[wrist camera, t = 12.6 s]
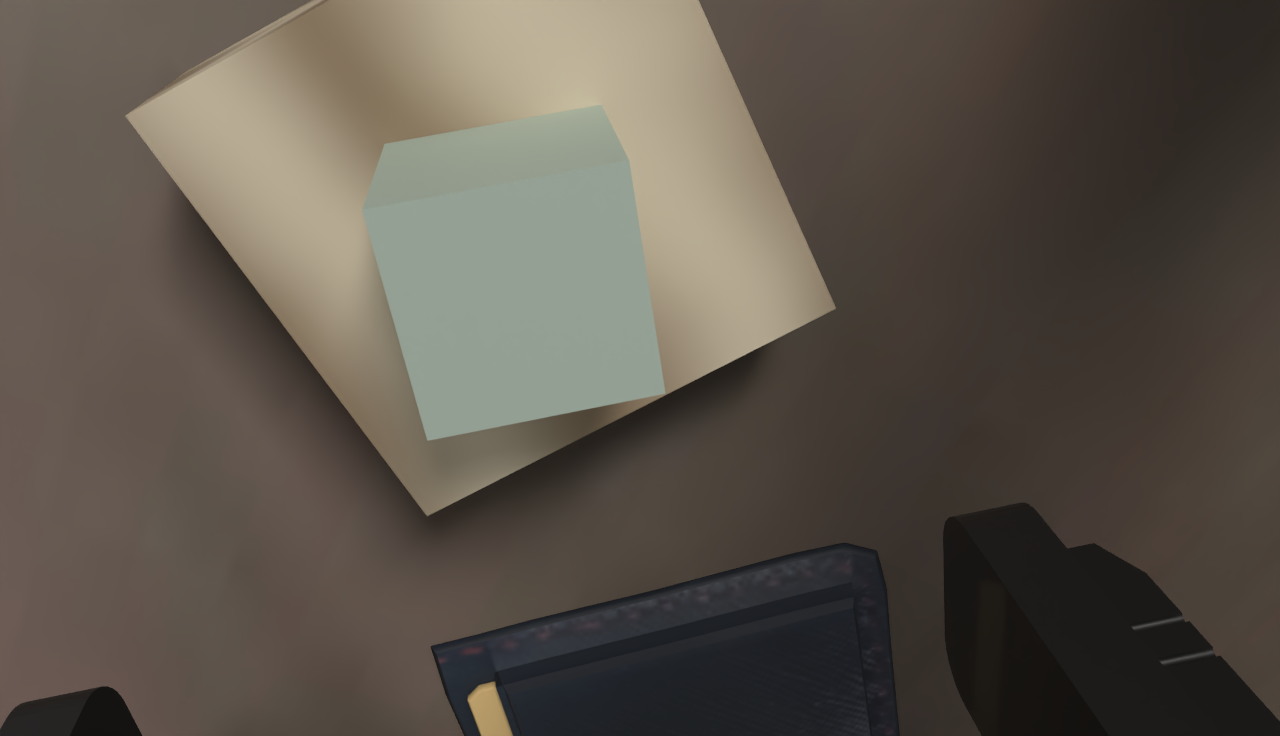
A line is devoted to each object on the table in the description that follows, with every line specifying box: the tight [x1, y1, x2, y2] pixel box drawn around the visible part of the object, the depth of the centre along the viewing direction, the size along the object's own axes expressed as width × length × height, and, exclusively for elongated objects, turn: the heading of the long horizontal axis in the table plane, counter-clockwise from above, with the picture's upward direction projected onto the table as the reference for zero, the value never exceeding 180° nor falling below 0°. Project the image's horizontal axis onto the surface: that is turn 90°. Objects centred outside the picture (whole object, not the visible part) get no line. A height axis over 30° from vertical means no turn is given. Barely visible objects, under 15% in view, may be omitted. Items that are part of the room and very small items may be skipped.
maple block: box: [126, 0, 836, 516], centre depth 24 cm, size 11×11×5 cm
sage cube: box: [362, 105, 666, 441], centre depth 20 cm, size 4×4×4 cm
